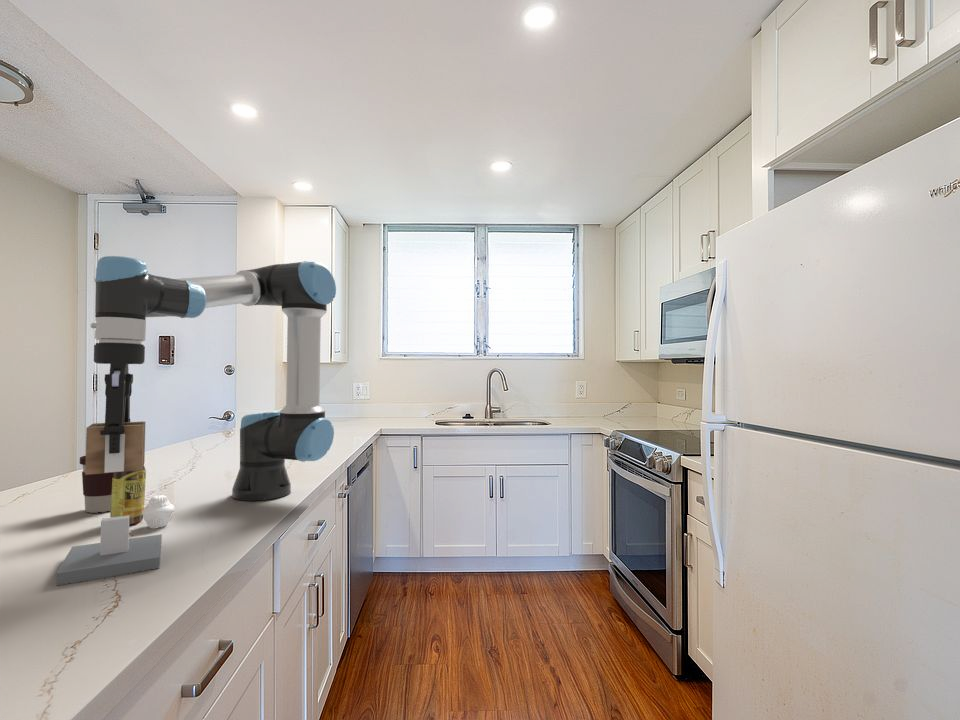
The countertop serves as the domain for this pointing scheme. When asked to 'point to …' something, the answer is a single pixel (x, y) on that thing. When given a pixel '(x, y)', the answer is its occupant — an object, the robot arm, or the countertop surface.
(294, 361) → the robot arm
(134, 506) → the sauce bottle
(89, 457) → the brown hollow block
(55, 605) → the countertop surface
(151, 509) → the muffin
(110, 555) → the shaft stand
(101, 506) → the coffee cup
